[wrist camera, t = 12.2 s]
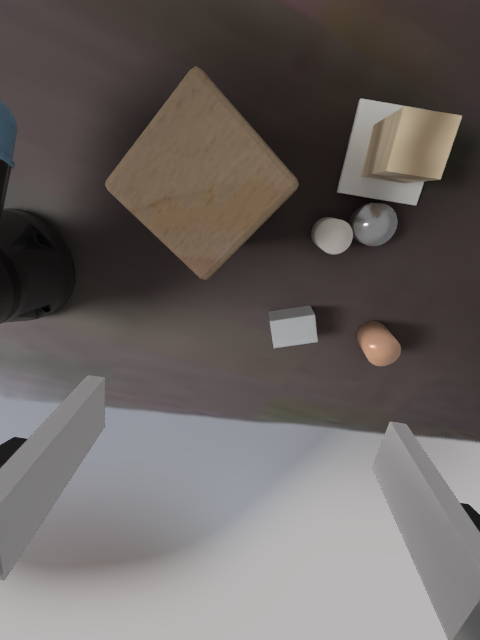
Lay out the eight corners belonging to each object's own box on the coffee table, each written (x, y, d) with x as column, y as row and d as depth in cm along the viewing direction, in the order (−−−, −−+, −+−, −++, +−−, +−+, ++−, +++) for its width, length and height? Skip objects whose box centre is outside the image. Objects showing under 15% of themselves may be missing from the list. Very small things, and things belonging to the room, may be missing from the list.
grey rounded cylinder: (307, 245, 43) (314, 251, 38) (315, 214, 41) (323, 216, 37) (337, 250, 43) (347, 256, 38) (345, 219, 41) (357, 222, 37)
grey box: (272, 336, 48) (273, 348, 44) (268, 311, 46) (269, 321, 43) (312, 330, 47) (317, 341, 44) (309, 305, 46) (314, 314, 42)
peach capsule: (360, 351, 48) (370, 370, 44) (352, 326, 46) (362, 343, 42) (390, 342, 47) (404, 360, 43) (383, 316, 46) (397, 332, 41)
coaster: (336, 192, 40) (337, 192, 40) (359, 99, 37) (360, 98, 36) (414, 205, 40) (416, 205, 40) (444, 114, 37) (447, 113, 36)
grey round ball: (343, 239, 42) (350, 242, 40) (354, 199, 41) (361, 200, 38) (380, 245, 43) (389, 249, 40) (392, 206, 41) (403, 206, 38)
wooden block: (280, 190, 41) (302, 184, 22) (225, 247, 43) (204, 284, 25) (223, 127, 38) (194, 59, 20) (169, 191, 41) (99, 184, 22)
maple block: (360, 176, 39) (385, 171, 32) (373, 124, 37) (404, 106, 30) (404, 183, 39) (440, 179, 32) (420, 132, 37) (462, 115, 30)
